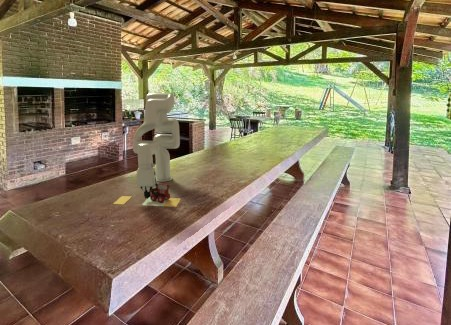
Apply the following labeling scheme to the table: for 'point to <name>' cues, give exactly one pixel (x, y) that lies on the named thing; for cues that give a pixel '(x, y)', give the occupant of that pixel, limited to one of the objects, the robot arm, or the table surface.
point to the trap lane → (151, 202)
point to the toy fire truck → (160, 193)
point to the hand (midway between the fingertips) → (147, 197)
